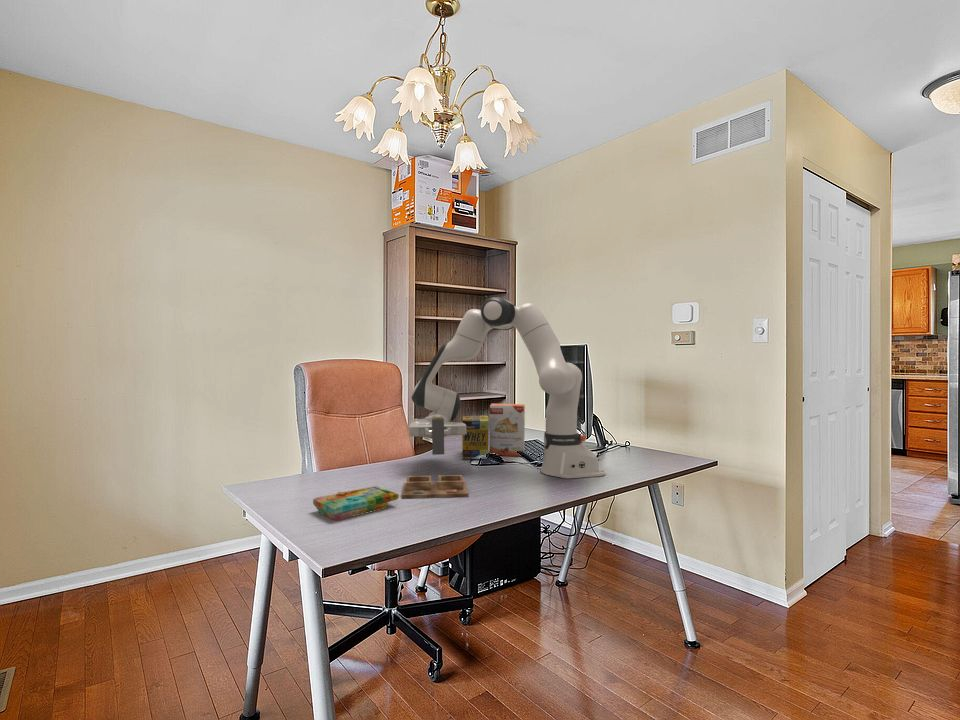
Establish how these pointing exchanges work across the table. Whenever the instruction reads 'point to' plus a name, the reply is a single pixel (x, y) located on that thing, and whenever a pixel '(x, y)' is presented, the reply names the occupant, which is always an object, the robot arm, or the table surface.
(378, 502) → the puzzle game
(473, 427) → the protein box
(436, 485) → the socket board
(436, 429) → the plug
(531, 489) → the table surface
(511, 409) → the cracker box
